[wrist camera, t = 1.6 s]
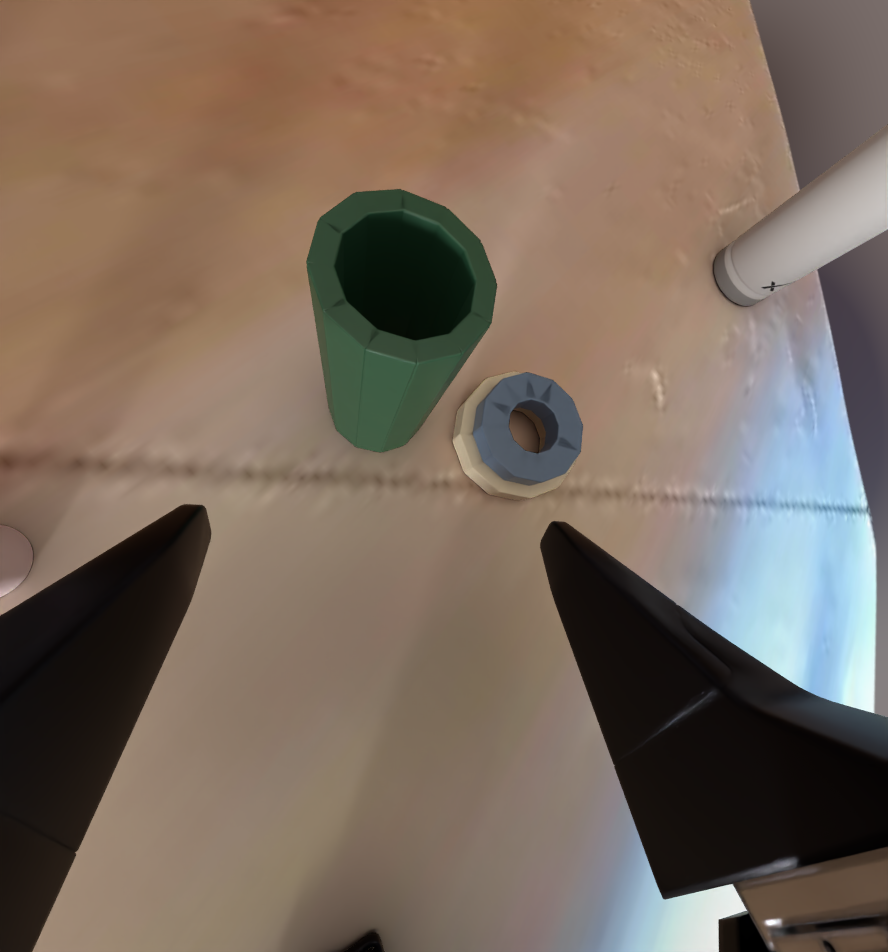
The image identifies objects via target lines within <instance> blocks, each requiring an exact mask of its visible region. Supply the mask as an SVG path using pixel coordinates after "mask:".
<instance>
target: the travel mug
mask: <svg viewBox="0 0 888 952" xmlns="http://www.w3.org/2000/svg"><path fill="white" fill-rule="evenodd" d="M887 229H888V124H887V125H886V126H885V127H883V128H882V129H881V130H879V131H878V132H877V133H875V134H874V135H873V136H872V137H870V138H869V139H868V140H867V141H865V142H864V143H862V144H861V145H860V146H858V147H857V148H856V149H854V150H853V151H852V152H850V153H849V154H848V155H847V156H845V157H844V158H842V159H841V160H840V161H839V162H837V163H836V164H835V165H833V166H832V167H831V168H829V169H828V170H827V171H826V172H824V173H823V174H821V175H820V176H819V177H817V178H816V179H815V180H814V181H812V182H811V183H810V184H808V185H807V186H806V187H804V188H803V189H802V190H800V191H799V192H798V193H796V194H795V195H794V196H792V197H791V198H790V199H788V200H787V201H786V202H784V203H783V204H782V205H780V206H779V207H778V208H777V209H775V210H774V211H773V212H771V213H770V214H769V215H767V216H766V217H765V218H763V219H762V220H761V221H759V222H758V223H757V224H755V225H754V226H753V227H751V228H750V229H749V230H747V231H746V232H745V233H744V234H742V235H741V236H740V237H738V238H737V239H736V240H735V241H733V242H732V243H730V244H729V245H728V246H726V247H725V248H724V249H722V250H721V251H720V252H719V253H718V255H717V257H716V259H715V262H714V274H715V278H716V281H717V283H718V286H719V287H720V289H721V290H722V292H723V293H724V294H725V295H726V296H727V297H728V298H729V299H730V300H731V301H733V302H735V303H737V304H739V305H743V306H751V305H754V304H756V303H758V302H759V301H761V300H763V299H765V298H767V297H768V296H770V295H771V294H773V293H775V292H777V291H779V290H781V289H783V288H784V287H786V286H788V285H790V284H791V283H793V282H795V281H797V280H799V279H800V278H802V277H804V276H806V275H807V274H809V273H811V272H813V271H815V270H816V269H818V268H820V267H822V266H823V265H825V264H827V263H829V262H831V261H832V260H834V259H836V258H838V257H839V256H841V255H843V254H845V253H846V252H848V251H850V250H852V249H853V248H855V247H857V246H859V245H861V244H862V243H864V242H866V241H868V240H870V239H871V238H873V237H875V236H877V235H878V234H880V233H882V232H883V231H886V230H887Z"/></svg>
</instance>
